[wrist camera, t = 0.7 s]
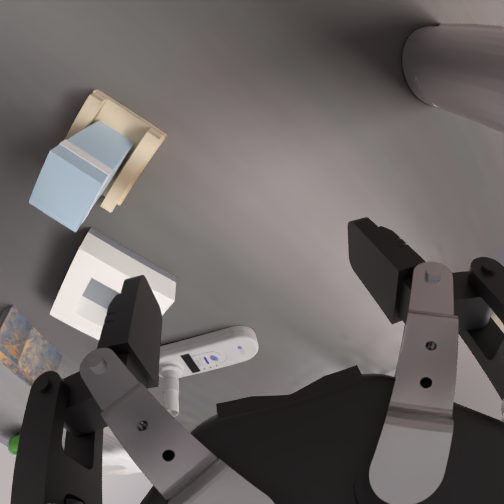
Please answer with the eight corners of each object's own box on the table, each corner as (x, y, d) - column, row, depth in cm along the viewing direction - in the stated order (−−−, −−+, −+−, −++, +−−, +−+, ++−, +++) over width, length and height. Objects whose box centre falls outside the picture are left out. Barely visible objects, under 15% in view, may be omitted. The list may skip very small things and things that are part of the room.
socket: (90, 227, 29) (79, 247, 26) (176, 276, 34) (174, 300, 31) (59, 292, 33) (49, 314, 30) (133, 330, 38) (129, 354, 35)
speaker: (28, 443, 61) (24, 463, 54) (9, 431, 57) (4, 452, 50) (53, 437, 57) (49, 462, 51) (30, 425, 53) (25, 449, 47)
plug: (99, 119, 23) (49, 149, 15) (135, 142, 25) (102, 183, 17) (77, 156, 24) (27, 202, 16) (112, 179, 26) (76, 233, 18)
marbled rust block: (3, 308, 34) (-22, 358, 26) (14, 302, 34) (-12, 354, 26) (50, 357, 40) (36, 407, 32) (62, 353, 40) (48, 405, 32)
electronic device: (273, 400, 35) (162, 424, 35) (259, 342, 43) (162, 368, 43) (264, 379, 32) (142, 406, 32) (249, 318, 40) (146, 346, 40)
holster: (97, 89, 22) (86, 92, 20) (167, 134, 26) (163, 142, 23) (58, 160, 25) (45, 170, 23) (122, 201, 29) (114, 215, 26)
